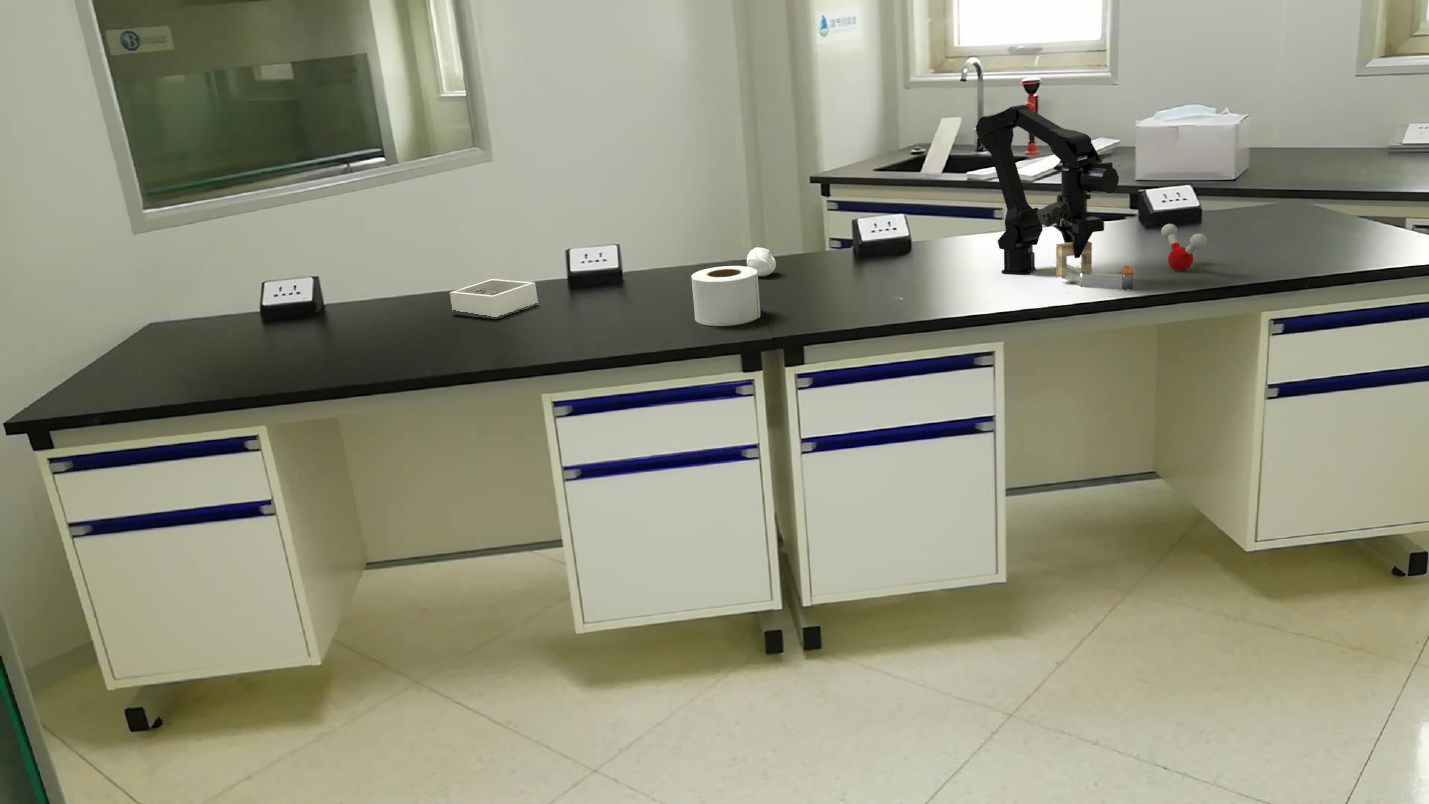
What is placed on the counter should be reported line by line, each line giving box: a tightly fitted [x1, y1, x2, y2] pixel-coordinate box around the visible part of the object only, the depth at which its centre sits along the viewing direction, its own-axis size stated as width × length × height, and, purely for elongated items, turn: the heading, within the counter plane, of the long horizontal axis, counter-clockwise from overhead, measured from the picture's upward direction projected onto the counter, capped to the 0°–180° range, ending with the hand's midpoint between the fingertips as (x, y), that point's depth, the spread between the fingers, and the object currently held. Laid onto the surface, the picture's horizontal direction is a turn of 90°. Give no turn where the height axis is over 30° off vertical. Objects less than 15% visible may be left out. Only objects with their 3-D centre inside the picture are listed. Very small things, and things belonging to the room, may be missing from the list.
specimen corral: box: [449, 278, 539, 317], centre depth 300 cm, size 16×15×6 cm
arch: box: [1055, 240, 1093, 279], centre depth 273 cm, size 3×7×8 cm, turn 99°
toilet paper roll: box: [690, 265, 761, 327], centre depth 271 cm, size 16×15×11 cm
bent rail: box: [1055, 263, 1135, 290], centre depth 271 cm, size 23×6×5 cm, turn 29°
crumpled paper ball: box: [746, 247, 777, 277], centre depth 309 cm, size 8×8×8 cm
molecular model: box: [1160, 223, 1208, 272], centre depth 274 cm, size 18×6×10 cm, turn 6°
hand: (1073, 256), depth 273 cm, fingers closed on arch, 3 cm apart
